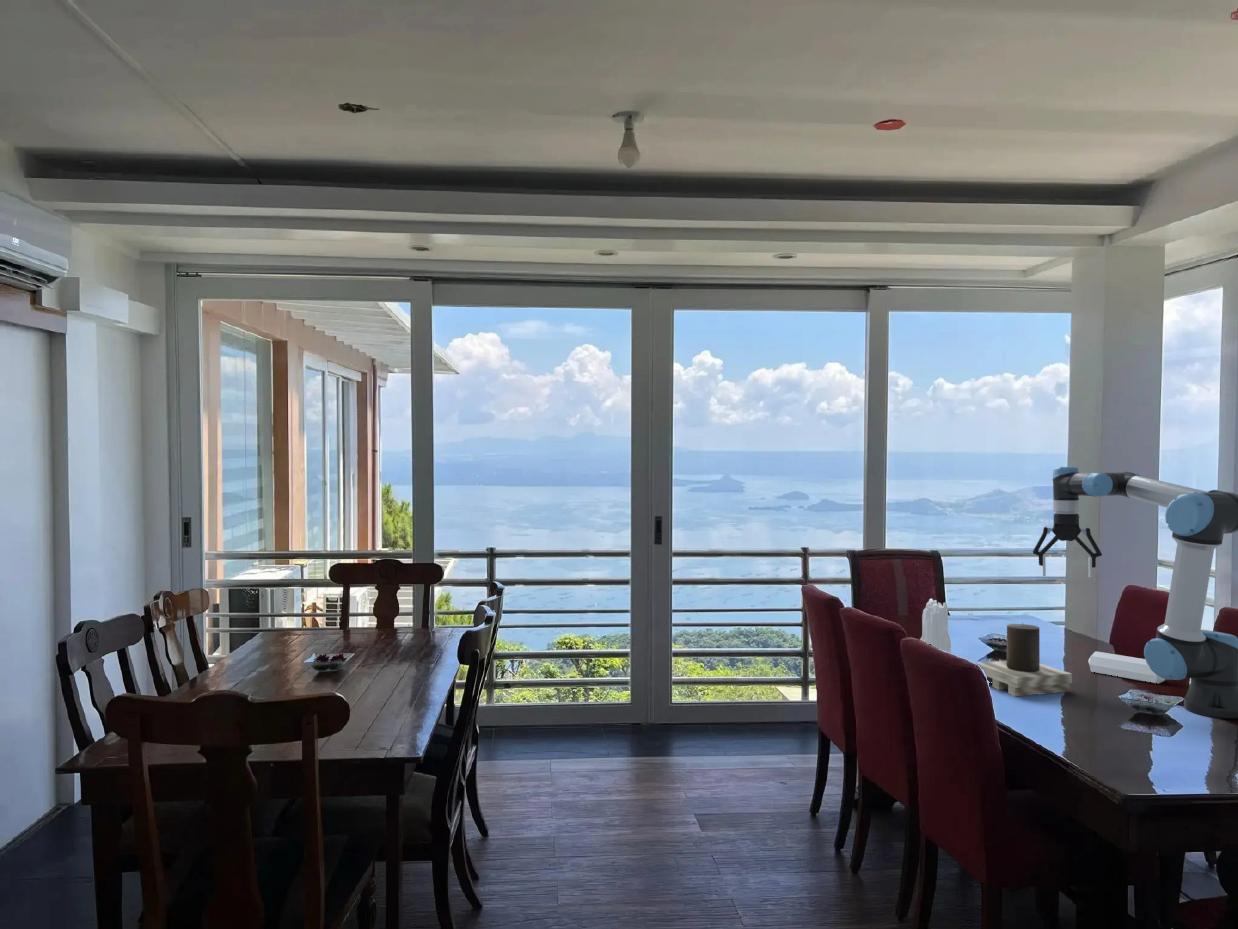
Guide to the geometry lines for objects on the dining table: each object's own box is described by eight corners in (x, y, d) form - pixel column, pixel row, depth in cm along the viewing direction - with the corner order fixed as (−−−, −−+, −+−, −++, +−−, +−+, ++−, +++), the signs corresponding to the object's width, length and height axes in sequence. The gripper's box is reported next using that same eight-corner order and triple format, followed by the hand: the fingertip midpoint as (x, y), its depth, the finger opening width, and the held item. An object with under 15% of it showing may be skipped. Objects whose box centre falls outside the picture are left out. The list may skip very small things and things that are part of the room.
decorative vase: (953, 676, 284) (952, 603, 284) (919, 674, 288) (919, 601, 288) (951, 668, 295) (950, 598, 295) (919, 666, 298) (918, 597, 298)
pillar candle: (1024, 673, 264) (1025, 626, 264) (999, 666, 273) (999, 620, 273) (1046, 670, 268) (1046, 623, 268) (1021, 663, 277) (1021, 618, 277)
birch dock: (1027, 677, 282) (1027, 659, 282) (1072, 692, 263) (1071, 673, 263) (975, 681, 278) (975, 663, 278) (1017, 697, 258) (1016, 678, 258)
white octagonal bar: (1173, 669, 276) (1095, 657, 294) (1165, 661, 272) (1087, 649, 291) (1168, 691, 273) (1091, 676, 292) (1161, 683, 269) (1083, 669, 288)
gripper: (1107, 512, 276) (1108, 576, 276) (1024, 511, 286) (1025, 573, 286) (1110, 514, 269) (1111, 579, 269) (1025, 513, 279) (1025, 576, 279)
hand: (1067, 576), depth 278 cm, fingers open, 13 cm apart
